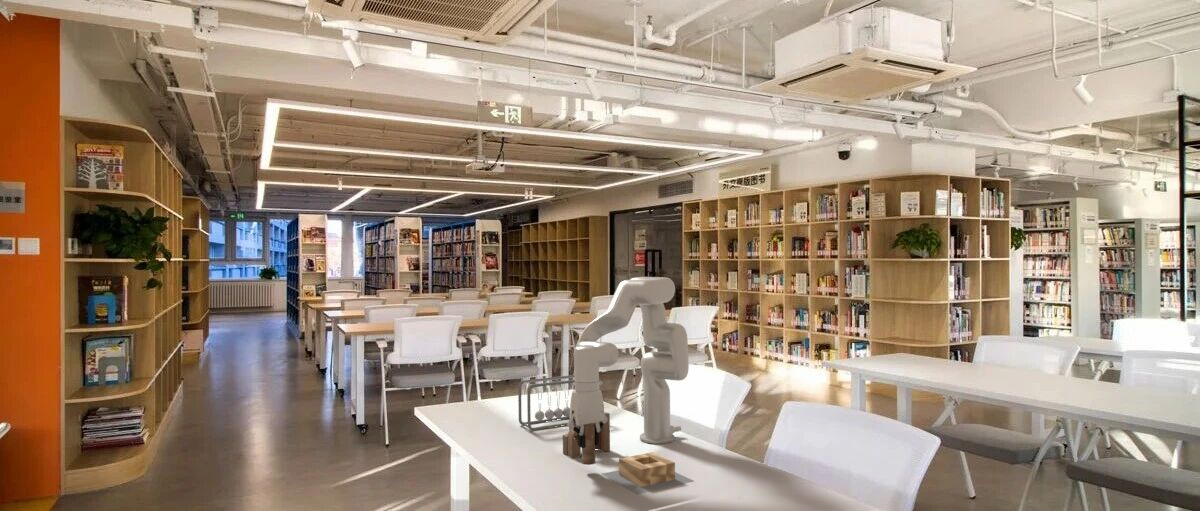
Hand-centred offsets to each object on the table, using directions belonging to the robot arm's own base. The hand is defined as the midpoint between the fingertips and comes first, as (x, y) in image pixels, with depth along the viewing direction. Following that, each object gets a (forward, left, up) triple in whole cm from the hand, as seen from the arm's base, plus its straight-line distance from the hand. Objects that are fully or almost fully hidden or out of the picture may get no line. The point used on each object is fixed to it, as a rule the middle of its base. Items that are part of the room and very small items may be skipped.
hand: (588, 445), depth 204 cm
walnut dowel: (0, 0, -5) cm, 5 cm away
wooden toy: (-11, -20, -9) cm, 24 cm away
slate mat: (-13, +13, -9) cm, 20 cm away
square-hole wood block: (-13, +13, -8) cm, 20 cm away
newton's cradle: (-19, -60, -9) cm, 63 cm away
